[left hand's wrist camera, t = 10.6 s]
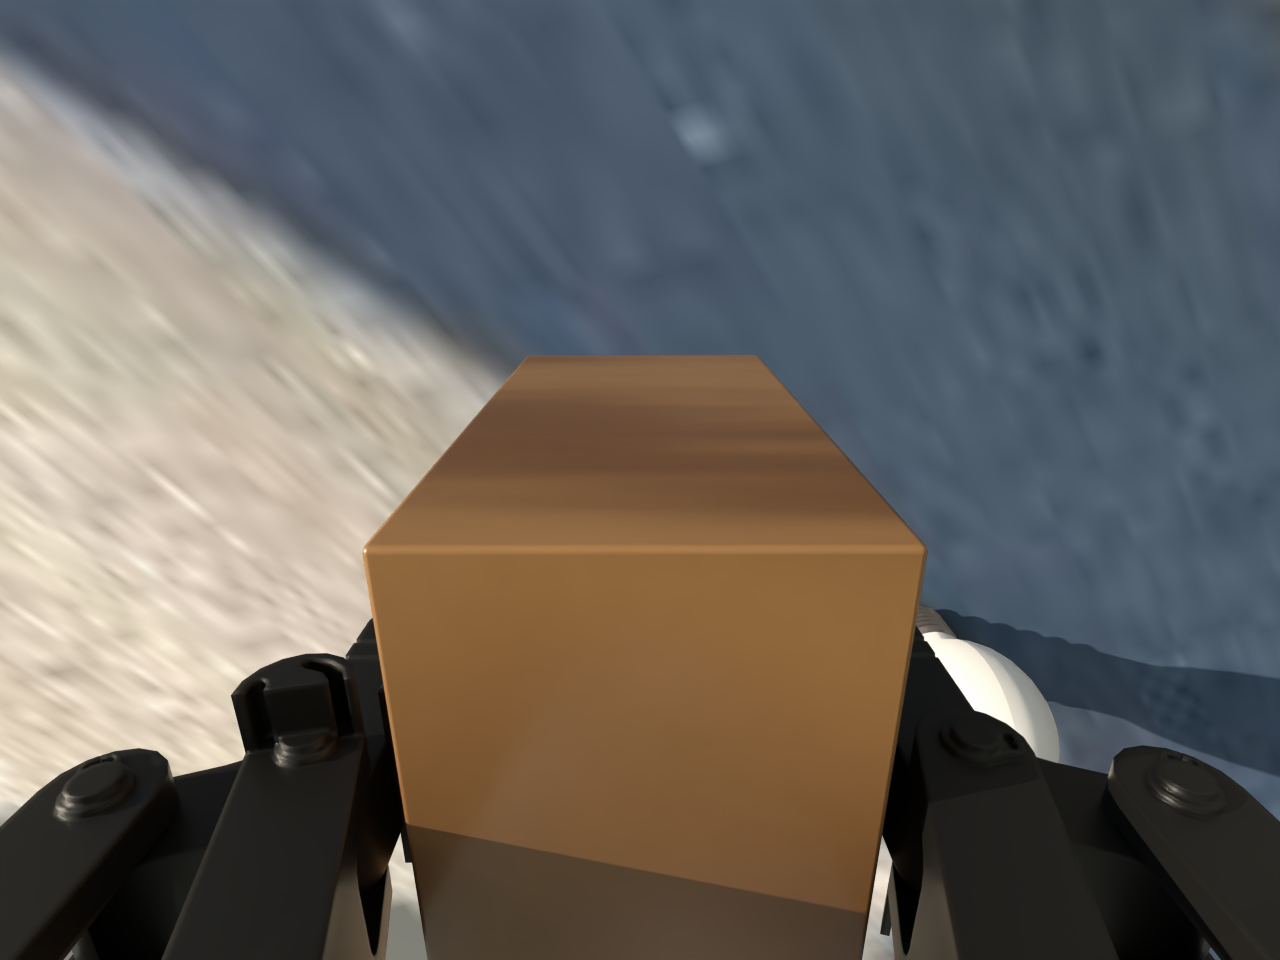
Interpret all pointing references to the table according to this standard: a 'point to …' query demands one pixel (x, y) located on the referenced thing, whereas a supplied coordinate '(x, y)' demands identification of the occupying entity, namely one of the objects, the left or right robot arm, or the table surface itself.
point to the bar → (644, 669)
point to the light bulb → (993, 684)
